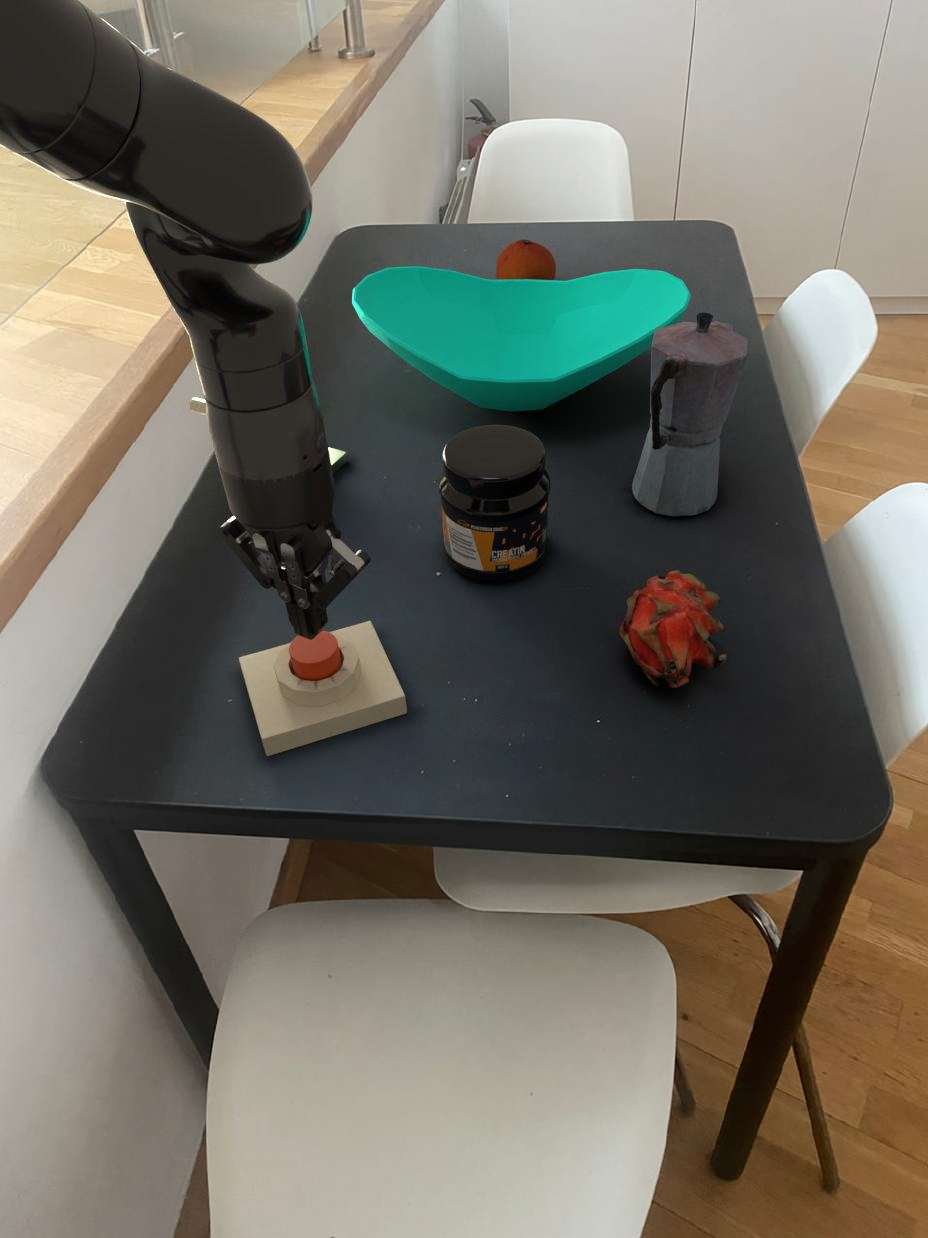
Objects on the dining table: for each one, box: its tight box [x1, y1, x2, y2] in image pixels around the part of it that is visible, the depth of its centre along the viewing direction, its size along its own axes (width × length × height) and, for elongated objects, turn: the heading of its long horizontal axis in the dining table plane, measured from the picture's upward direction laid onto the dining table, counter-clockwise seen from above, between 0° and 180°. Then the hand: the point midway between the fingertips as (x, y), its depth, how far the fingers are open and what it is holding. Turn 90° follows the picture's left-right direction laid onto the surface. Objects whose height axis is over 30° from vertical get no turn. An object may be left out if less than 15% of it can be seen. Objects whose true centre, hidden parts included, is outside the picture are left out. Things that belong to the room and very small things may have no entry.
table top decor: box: [351, 265, 692, 412], centre depth 112 cm, size 40×28×13 cm
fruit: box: [495, 239, 557, 280], centre depth 136 cm, size 9×9×8 cm
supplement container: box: [438, 424, 551, 582], centre depth 88 cm, size 10×10×12 cm
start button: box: [289, 629, 341, 681], centre depth 76 cm, size 4×4×2 cm
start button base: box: [238, 620, 408, 757], centre depth 78 cm, size 12×10×4 cm
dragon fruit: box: [619, 569, 727, 689], centre depth 78 cm, size 8×8×12 cm
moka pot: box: [631, 311, 749, 517], centre depth 91 cm, size 10×15×20 cm, turn 148°
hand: (311, 631), depth 74 cm, fingers closed
